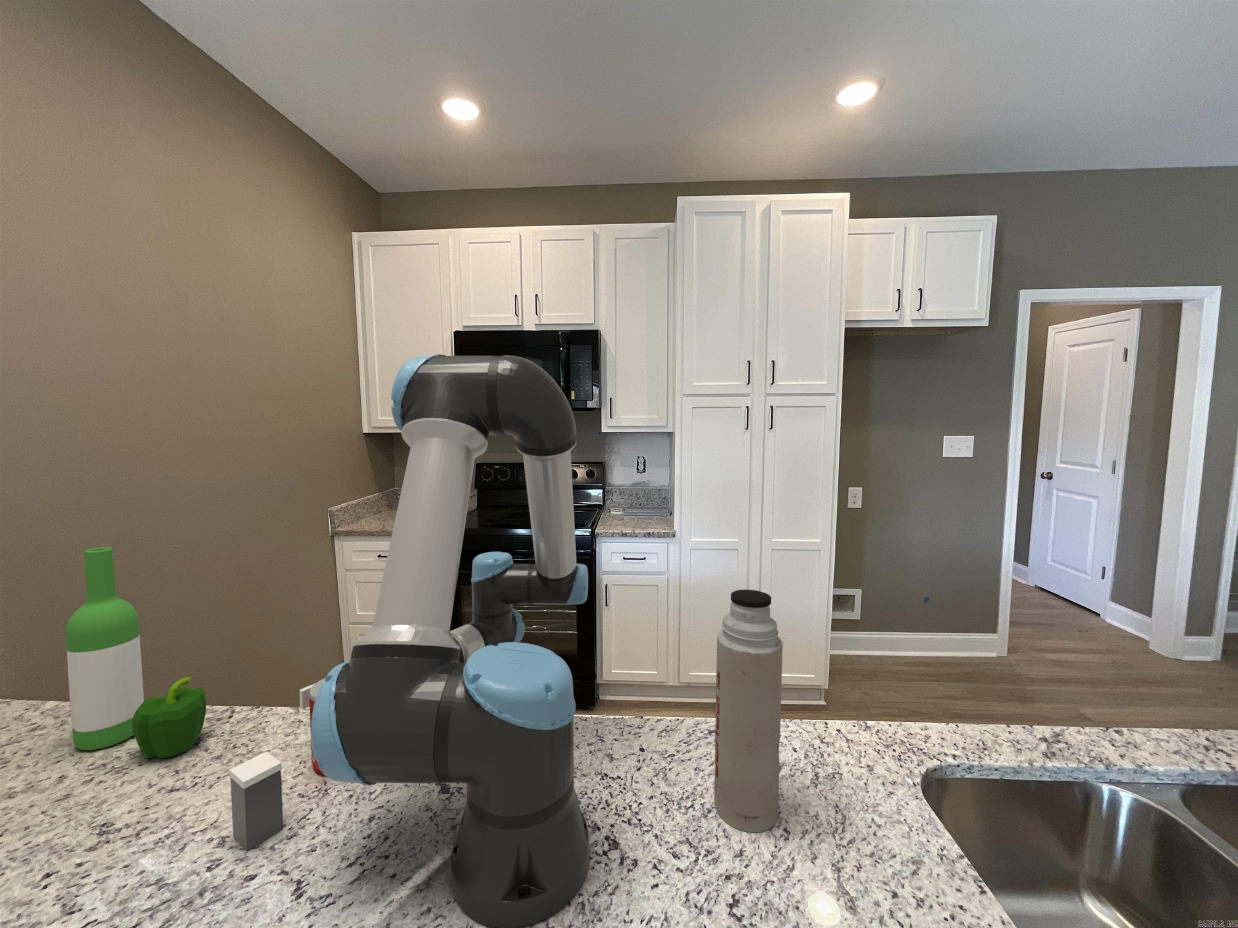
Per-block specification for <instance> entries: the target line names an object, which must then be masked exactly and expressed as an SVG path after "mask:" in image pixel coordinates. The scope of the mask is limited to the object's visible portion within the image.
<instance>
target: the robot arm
mask: <svg viewBox="0 0 1238 928" xmlns="http://www.w3.org/2000/svg"><path fill="white" fill-rule="evenodd" d="M390 399H391V400H392V405H391V406H390V407H391V408H390V409H391V415H392V418H393V421H394V422H393V423H394V424H395V426H396V427H397V429H398V430H399V431H400V432H401V437H402V440H403V441H404V442H405V443H406V444H407V446H408V447H409V454H408V458H407V463H406V466H405V467H406V468H405V471H404V477H403V482H402V485H401V486H402V487H401V491H400V496H399V500H398V504H397V508H396V515H395V517H394V518H395V519H394V524H393V528H392V533H391V537H390V542H389V546H388V551H387V557H386V560H385V561H386V562H385V566H384V571H383V575H382V579H381V580H382V581H381V584H380V589H379V594H378V599H377V604H376V608H375V613H374V617H373V622H372V627H371V629H369V631H368V632H367V633H366V634H364V635H363V636H362V637H360V638H359V639H358V640H356V641H355V642H354V643H353V646H352V649H351V653H350V659H349V660H346V661H344V662H342V663H339V664H338V665H336V666H334V667H332V668H331V670H330V671H329V672H328V673H327V675H326V676H325V677H324V678H325V683H323V684H322V685H321V686H320V689H319V691H318V694H317V697H316V700H315V704H314V708H313V713H312V721H311V731H310V744H311V743H312V749H313V754H314V757H315V759H316V760H317V762H318V766H319V768H320V770H321V771H322V773H323V774H324V775H323V776H325V777H327V778H328V779H330V780H332V781H335V782H339V783H341V782H342V783H353V784H354V783H356V784H361V785H363V786H368V787H369V786H373V785H376V784H466V805H465V808H464V811H463V815H462V817H461V821H460V824H459V829H458V833H457V834H456V837H455V839H454V841H453V846H452V850H451V856H450V883H451V885H450V886H451V890H452V894H453V896H454V900H455V901H456V903H457V904H458V906H459V908H460V909H461V910H462V912H464V913H465V914H466V915H467V916H468V917H470V918H471V919H472V920H473V921H476V922H478V923H480V924H483V925H486V926H489V927H492V928H521V927H526V926H530V925H533V924H536V923H539V922H541V921H543V920H546V919H547V918H549V917H551V916H552V915H554V914H555V913H557V912H558V911H560V910H561V909H563V908H564V907H565V906H566V905H567V904H568V903H569V902H570V901H571V899H573V897H575V895H576V894H577V892H578V891H579V890H580V888H581V886H582V885H583V883H584V881H585V878H586V876H587V873H588V870H589V864H590V832H589V827H588V823H587V821H586V818H585V816H584V813H583V811H582V810H581V805H580V801H579V797H578V794H577V792H576V790H575V778H574V777H575V774H574V773H575V765H574V763H575V762H574V761H575V757H574V755H575V754H574V752H575V751H574V749H575V748H574V718H575V714H576V706H577V705H576V700H575V697H574V684H573V683H574V681H573V675H572V672H571V671H572V670H571V669H570V667H569V665H568V664H567V662H566V661H565V660H564V659H563V658H562V657H561V656H559V655H558V654H556V653H555V652H554V651H552V650H551V649H548V648H545V647H543V646H540V645H536V644H531V643H528V642H521V641H522V639H523V637H524V635H525V631H526V629H525V627H526V625H525V622H524V621H523V616H522V615H521V613H520V612H519V611H518V610H517V609H515V608H514V607H513V605H548V606H549V605H550V606H551V605H552V606H553V605H554V606H555V605H556V606H558V605H559V606H568V605H582V604H584V603H585V602H586V601H587V599H588V595H589V594H588V591H589V570H588V566H587V565H585V564H584V563H577V549H576V548H577V547H576V546H577V545H576V530H575V529H576V528H575V512H574V511H575V510H574V509H575V508H574V507H575V506H574V493H573V472H572V471H573V470H572V455H571V453H572V450H573V449H574V448H575V447H576V445H577V426H576V421H575V417H574V413H573V409H572V407H571V405H570V403H569V400H568V399H567V396H566V395H565V393H564V392H563V390H562V388H561V387H560V386H559V384H558V383H557V381H555V379H554V378H553V377H552V376H551V375H550V374H549V373H548V372H547V371H545V369H544V368H542V367H541V366H539V364H536V363H535V362H533V361H532V360H529V359H528V358H524V357H521V356H516V355H509V354H508V355H446V354H442V353H441V354H440V353H438V354H437V353H435V354H432V355H421V356H420V355H419V356H415V357H413V358H412V357H411V358H410V359H408V360H407V361H406V362H405V363H404V364H402V366H401V367H400V369H399V370H398V371H397V374H396V376H395V378H394V381H393V384H392V387H391V398H390ZM507 435H510V436H513V439H514V446H515V449H516V450H517V451H518V452H519V454H521V455H522V458H523V466H524V475H525V484H526V492H527V501H528V508H529V509H528V511H529V518H530V525H531V535H532V543H533V544H532V545H533V552H534V560H535V564H534V563H530V564H529V563H528V564H527V563H525V564H524V563H514V560H513V556H512V555H511V554H510V553H509V552H502V551H489V552H483V553H480V554H477V556H475V557H474V558H473V560H472V567H471V569H472V571H471V579H470V583H471V603H472V604H471V605H472V606H471V607H472V613H471V615H472V616H471V617H472V621H470V622H469V623H466V624H464V625H462V626H459V627H457V628H455V629H452V630H450V629H451V622H452V619H453V618H452V617H453V610H454V609H453V608H454V602H455V596H456V590H457V589H456V588H457V582H458V577H459V571H460V570H459V568H460V562H461V555H462V548H463V541H464V537H465V536H464V534H465V528H466V521H467V514H468V508H469V500H470V494H471V489H472V488H471V485H472V480H473V472H474V466H475V460H476V458H478V457H480V456H481V455H483V454H484V453H486V451H487V449H488V446H489V445H488V444H489V439H490V436H507ZM314 684H315V683H313V684H311V685H308V686H305V687H303V688H301V689H299V690H298V691H299V692H298V693H299V708H300V709H301V710H305V709H307V708H310V705H309V701H310V700H309V695H310V689H311V687H312V686H313V685H314Z"/></svg>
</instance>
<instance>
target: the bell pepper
mask: <svg viewBox="0 0 1238 928" xmlns="http://www.w3.org/2000/svg"><path fill="white" fill-rule="evenodd" d="M191 681H192V678H191V677H182V678H181V679H179V680H177V681H175V683H174V684H172V686H171V687H170V688H169V691H168V693H167V694H166V695H165V696H161V697H157V696H156V697H148V698H144V702H143V703H142V704H141V705H140V706H139V708H138V709H137V710H136V712H135V714H134V716H133V719H132V725H133V733H134V735H133V736H134V738H135V741H136V743H137V746H138V747H139V750H140V751H141V753H142V754H143V756H146V757H147V758H149V759H152V758H156V757H158V758H162V759H163V758H166V759H167V758H168V759H169V758H172V757H174V756H178V755H181V754H183V753H184V752H186V751H188V750H190V749H191V748H192V747H193V746H194V744H195V743H196V741H197V740H198V738H199V736H200V735H201V733H202V730H203V726H204V724H205V723H204V722H205V719H206V714H207V694H206V691H205V690H204V689H203V687H198V688H191V687H187V686H183V685H187V684H190V682H191Z"/></svg>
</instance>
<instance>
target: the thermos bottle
mask: <svg viewBox="0 0 1238 928" xmlns="http://www.w3.org/2000/svg"><path fill="white" fill-rule="evenodd" d="M730 600H731V602H730V606H729V613H727V614H725V615H724V616H723V619H722V623H721V628H722V629H721V630H720V631H719V632H718V633H717V635H716V667H715V668H716V671H715V673H716V674H715V675H716V676H715V725H714V727H715V729H714V731H715V734H714V737H715V738H714V788H713V789H714V791H713V793H714V796H713V803H714V804H713V805H714V807H715V808H714V809H715V811H716V812H717V814H718V816H719V817H720V818H721V819H722V821H724V822H725V823H727V824H728V825H729V826H730V827H732V828H735V829H737V830H739V831H743V832H747V833H760V832H765V831H768V830H770V829H771V828H772V827H773V826H774V825H775V824H776V823H777V820H778V818H779V796H780V795H779V792H780V791H779V790H780V740H781V721H782V720H781V719H782V717H781V716H782V713H781V712H782V681H783V680H782V675H783V649H784V648H783V646H784V645H783V640H782V638H780V636H779V631H778V623H777V621H776V620H775V619H774V618H772V617H771V607H770V605H771V604H772V596H771V595H770V594H768V593H766V592H763V591H760V590H755V589H737V590H734V591H731V593H730Z"/></svg>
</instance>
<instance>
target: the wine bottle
mask: <svg viewBox="0 0 1238 928" xmlns="http://www.w3.org/2000/svg"><path fill="white" fill-rule="evenodd" d="M113 553H114V552H113V548H112V547H110V546H104V547H103V546H102V547H94V548H89V549H88V548H87V549H86V550H85V551H84V567H85V583H86V584H85V587H86V588H85V589H86V602H85V603H84V604H82V605H81V606H80V607H79V608H78V609H77V610H75V611H74V612H73V614H72V615H71V616H70V617H69V619H68V621H67V623H66V626H65V639H66V659H67V673H68V674H67V675H68V676H67V677H68V690H69V703H70V704H69V705H70V719H71V721H70V722H71V728H72V729H71V731H72V742H73V745H74V747H75V748H76V749H78V750H81V751H94V750H101V749H104V748H108V747H109V748H110V747H111V746H114V745H117V744H120V743H122V742H124V741H126V740H128V739H130V738H131V736H132V737H133V736H134V733H133V725H132V719H133V716H134V714H135V712H136V710H137V709H138V708H139V706H140V705H141V704H142V703H143V702H144V700H145V697H144V682H143V681H144V680H143V668H142V649H141V636H140V623H139V620H140V619H139V614H138V612H137V610H136V608H135V607H134V606H133V605H132V604H131V603H130V602H129V601H127V600H125V599H122V598H119V597H118V596H117V592H116V579H115V567H114V564H115V563H114V554H113Z"/></svg>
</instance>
